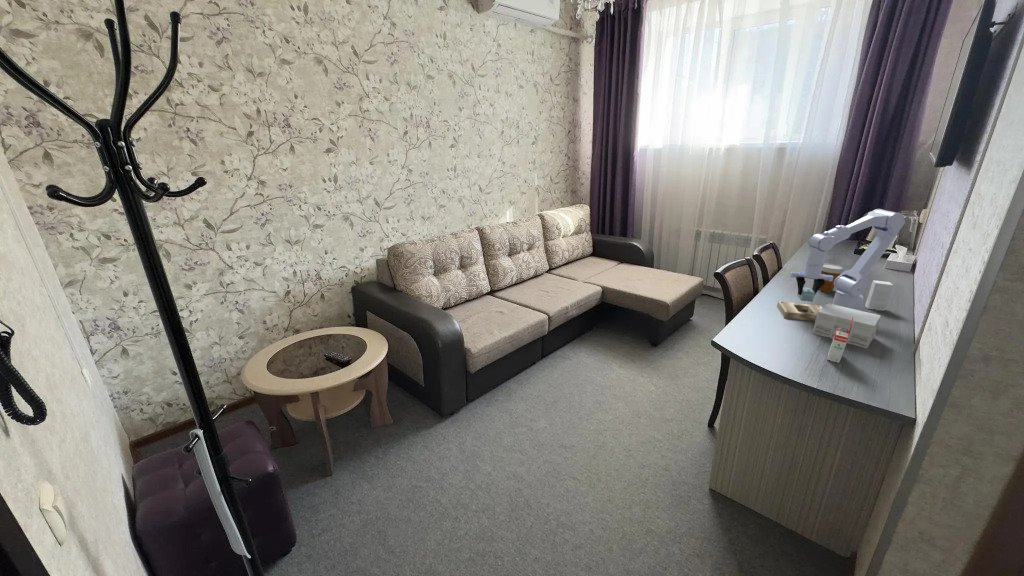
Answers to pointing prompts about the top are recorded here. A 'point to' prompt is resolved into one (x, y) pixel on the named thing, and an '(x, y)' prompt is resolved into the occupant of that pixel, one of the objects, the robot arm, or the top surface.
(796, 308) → the plate
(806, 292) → the servo block
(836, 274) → the orange jar with lid
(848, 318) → the supplement box
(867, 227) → the robot arm
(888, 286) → the skincare box
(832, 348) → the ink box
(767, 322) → the top surface
